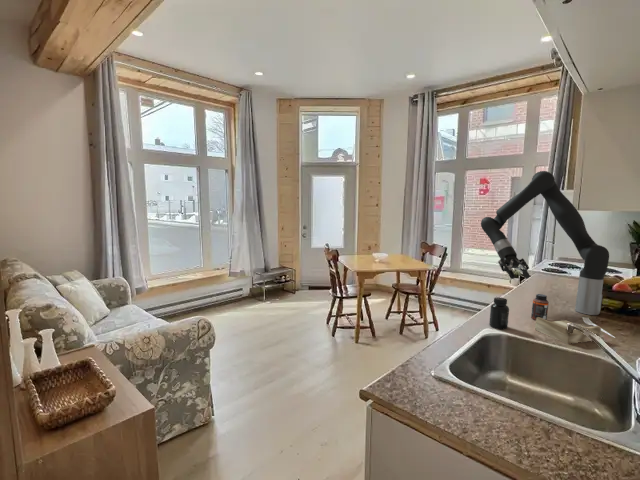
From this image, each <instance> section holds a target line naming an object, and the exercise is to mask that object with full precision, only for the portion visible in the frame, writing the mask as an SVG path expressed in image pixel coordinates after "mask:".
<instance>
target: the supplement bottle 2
mask: <svg viewBox="0 0 640 480" xmlns="http://www.w3.org/2000/svg"><path fill="white" fill-rule="evenodd" d="M547 298H548V296H547V295H546V294H542V293H536V294H535V298H533V300H532V307H531V315H530V316H531V319H532V320H534V321H536V318H537V317H540V318H543V319H545V320H547V319H548V311H549V303H550V302H549V301H548V300H547Z"/></svg>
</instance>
